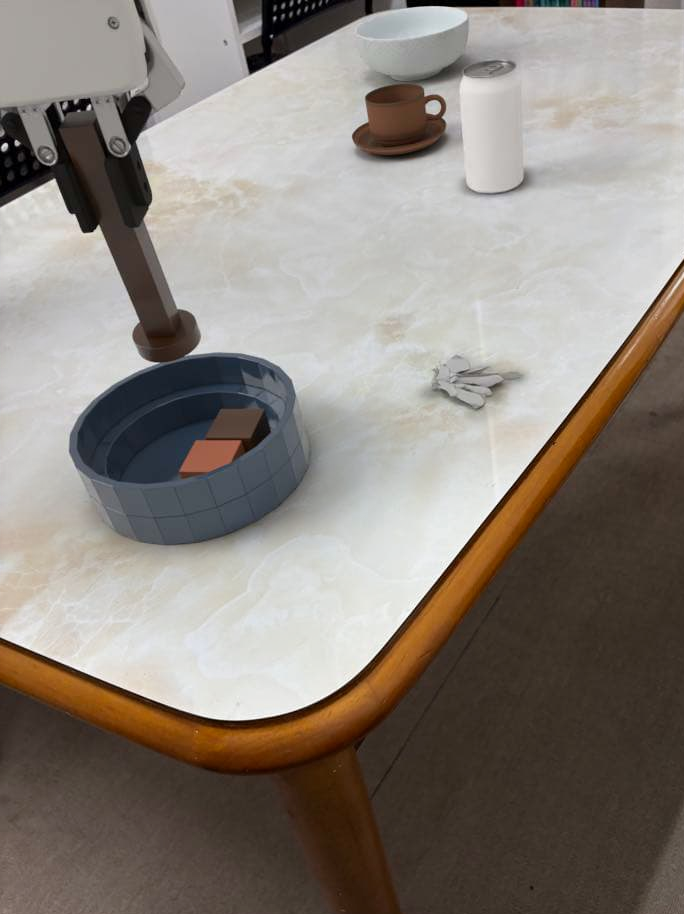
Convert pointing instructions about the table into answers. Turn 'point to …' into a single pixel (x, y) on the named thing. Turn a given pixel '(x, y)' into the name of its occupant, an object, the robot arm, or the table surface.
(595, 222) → the table surface
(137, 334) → the stirrer
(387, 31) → the cereal bowl
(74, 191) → the robot arm
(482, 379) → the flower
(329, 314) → the table surface
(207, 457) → the block terracotta
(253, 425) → the block walnut
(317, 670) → the table surface
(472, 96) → the can
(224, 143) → the table surface
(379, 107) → the cup and saucer
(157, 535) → the bowl
